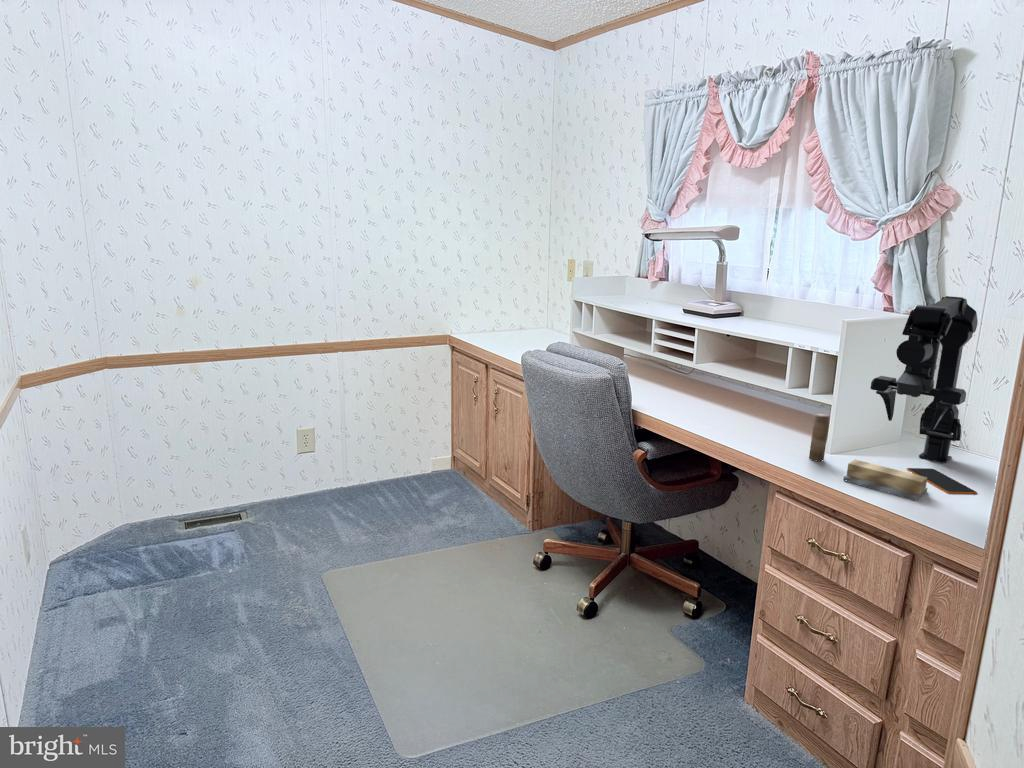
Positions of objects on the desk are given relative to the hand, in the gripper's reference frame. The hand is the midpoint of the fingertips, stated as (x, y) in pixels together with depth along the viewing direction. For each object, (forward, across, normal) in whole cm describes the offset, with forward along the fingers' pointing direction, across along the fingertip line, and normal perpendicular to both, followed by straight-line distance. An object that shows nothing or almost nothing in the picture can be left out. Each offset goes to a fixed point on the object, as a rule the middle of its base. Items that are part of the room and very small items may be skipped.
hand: (911, 424), depth 162 cm
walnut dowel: (+15, -21, +1) cm, 26 cm away
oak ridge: (+15, -2, -6) cm, 16 cm away
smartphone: (+15, +6, +9) cm, 19 cm away
